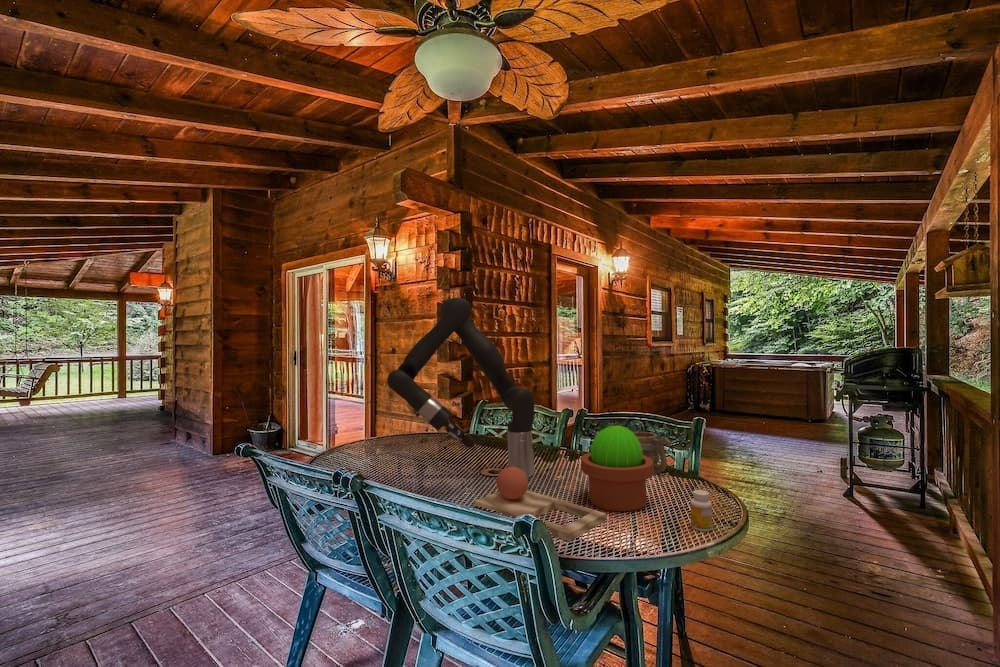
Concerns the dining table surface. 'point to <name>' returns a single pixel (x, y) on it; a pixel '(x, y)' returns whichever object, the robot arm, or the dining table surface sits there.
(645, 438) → the tankard
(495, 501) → the board
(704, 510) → the supplement bottle
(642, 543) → the dining table surface
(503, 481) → the ball
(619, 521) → the dining table surface
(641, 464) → the potted cactus
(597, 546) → the dining table surface
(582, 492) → the dining table surface
